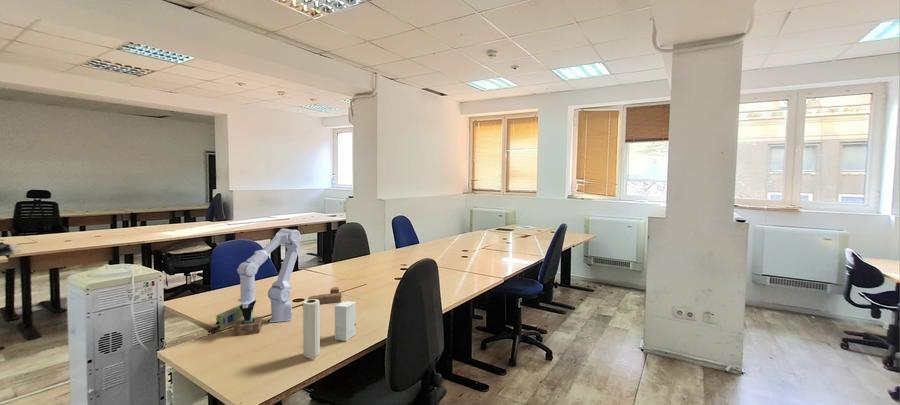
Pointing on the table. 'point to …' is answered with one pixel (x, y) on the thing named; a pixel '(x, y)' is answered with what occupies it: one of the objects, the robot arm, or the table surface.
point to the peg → (248, 321)
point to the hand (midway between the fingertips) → (248, 318)
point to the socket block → (248, 326)
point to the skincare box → (345, 320)
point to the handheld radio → (228, 318)
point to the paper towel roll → (311, 328)
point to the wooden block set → (329, 297)
